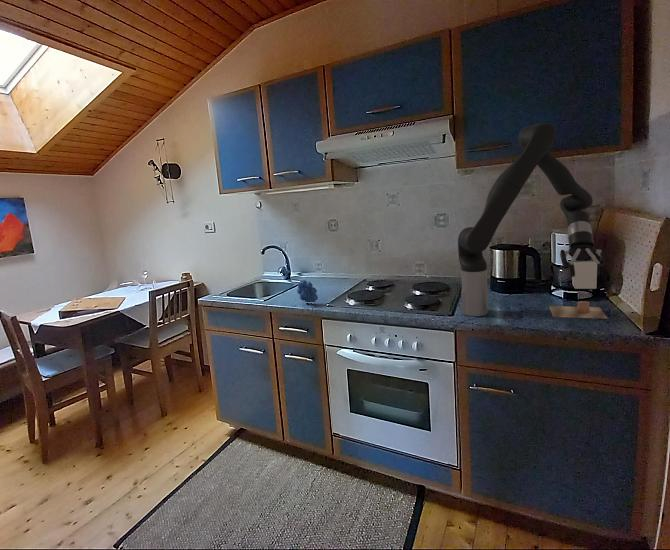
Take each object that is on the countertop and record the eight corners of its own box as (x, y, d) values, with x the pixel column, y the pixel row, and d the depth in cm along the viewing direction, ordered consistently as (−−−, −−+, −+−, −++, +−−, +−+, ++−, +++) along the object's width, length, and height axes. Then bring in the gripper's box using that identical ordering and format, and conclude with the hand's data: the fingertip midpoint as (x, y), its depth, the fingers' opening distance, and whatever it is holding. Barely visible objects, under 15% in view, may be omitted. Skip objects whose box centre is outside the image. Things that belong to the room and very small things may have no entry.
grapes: (293, 306, 187) (290, 282, 184) (301, 302, 192) (299, 278, 190) (313, 307, 180) (310, 282, 178) (321, 303, 186) (318, 279, 184)
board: (552, 319, 135) (552, 316, 135) (549, 308, 146) (549, 306, 146) (607, 321, 128) (607, 318, 128) (599, 309, 140) (599, 307, 140)
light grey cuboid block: (575, 288, 133) (575, 264, 131) (572, 284, 139) (572, 261, 137) (596, 288, 130) (597, 264, 129) (592, 284, 136) (593, 260, 134)
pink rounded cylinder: (578, 313, 135) (578, 303, 135) (576, 310, 139) (576, 301, 138) (590, 313, 134) (590, 304, 133) (588, 310, 137) (588, 301, 136)
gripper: (558, 231, 140) (562, 270, 132) (605, 229, 135) (612, 269, 126) (556, 243, 146) (560, 281, 138) (601, 241, 140) (608, 281, 132)
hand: (585, 275), depth 132 cm, fingers closed on light grey cuboid block, 6 cm apart
